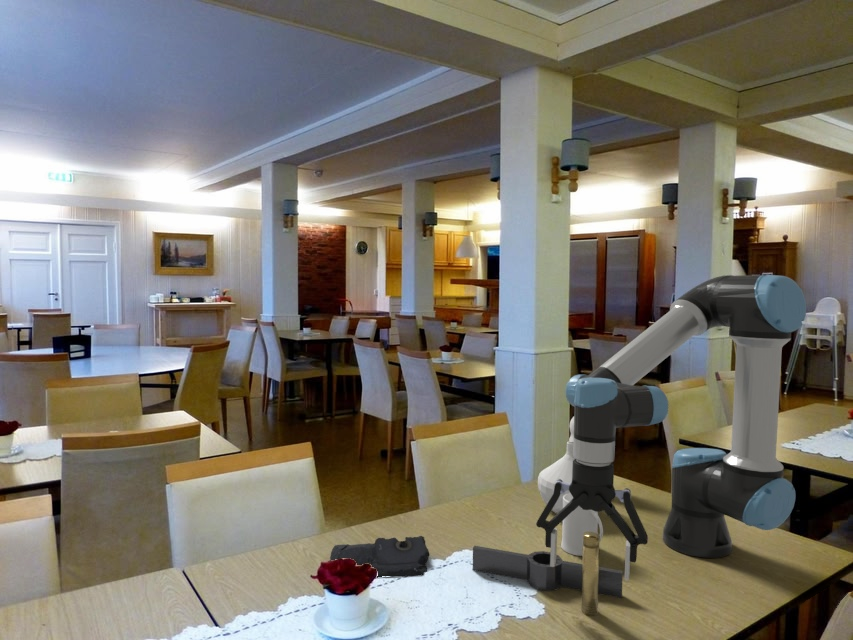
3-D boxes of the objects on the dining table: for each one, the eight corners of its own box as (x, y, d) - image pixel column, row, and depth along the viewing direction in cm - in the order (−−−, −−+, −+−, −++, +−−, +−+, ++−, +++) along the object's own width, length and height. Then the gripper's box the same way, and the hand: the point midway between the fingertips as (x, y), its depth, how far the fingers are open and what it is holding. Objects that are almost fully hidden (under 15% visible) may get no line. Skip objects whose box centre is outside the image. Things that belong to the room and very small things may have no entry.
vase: (614, 525, 154) (616, 452, 153) (543, 524, 155) (545, 451, 154) (595, 499, 173) (596, 434, 172) (532, 498, 173) (533, 434, 172)
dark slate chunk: (330, 551, 139) (330, 531, 139) (423, 546, 142) (423, 526, 142) (329, 583, 124) (329, 561, 124) (432, 577, 127) (433, 556, 127)
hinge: (622, 588, 122) (623, 564, 122) (620, 605, 116) (621, 580, 115) (477, 561, 133) (478, 540, 133) (468, 576, 127) (468, 553, 127)
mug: (614, 559, 135) (615, 508, 134) (582, 565, 132) (583, 512, 132) (584, 538, 146) (585, 490, 145) (554, 543, 143) (555, 494, 143)
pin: (598, 609, 114) (600, 533, 114) (596, 617, 112) (598, 539, 111) (582, 605, 116) (584, 530, 115) (580, 613, 113) (582, 536, 112)
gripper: (664, 463, 111) (659, 574, 112) (531, 447, 120) (528, 550, 121) (664, 475, 104) (659, 593, 105) (523, 457, 113) (520, 566, 114)
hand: (589, 570), depth 113 cm, fingers open, 13 cm apart
